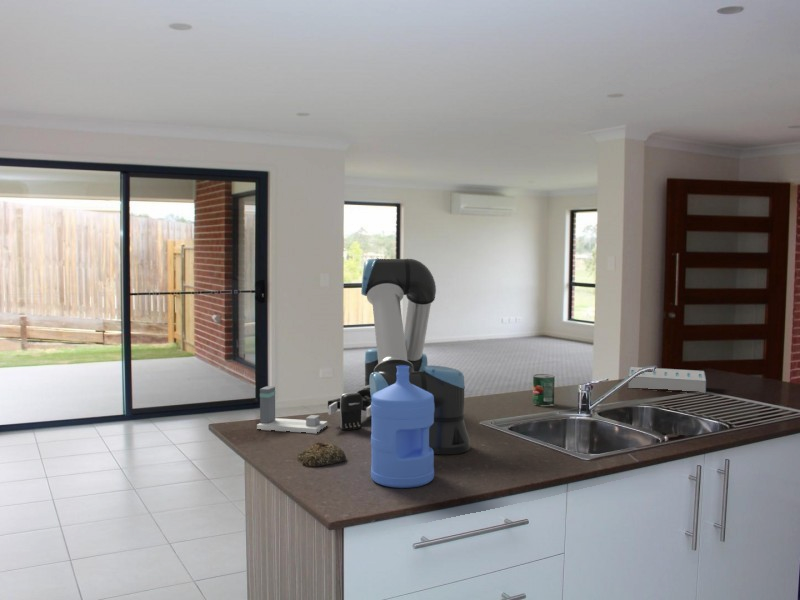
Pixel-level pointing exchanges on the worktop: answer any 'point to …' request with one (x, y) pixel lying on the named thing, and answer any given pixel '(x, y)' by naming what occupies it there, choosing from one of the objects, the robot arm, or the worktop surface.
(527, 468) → the worktop surface
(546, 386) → the canned tomato
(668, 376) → the dotted white bar
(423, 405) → the water jug
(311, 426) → the mount
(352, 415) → the battery charger
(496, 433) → the worktop surface
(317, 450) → the bread roll
